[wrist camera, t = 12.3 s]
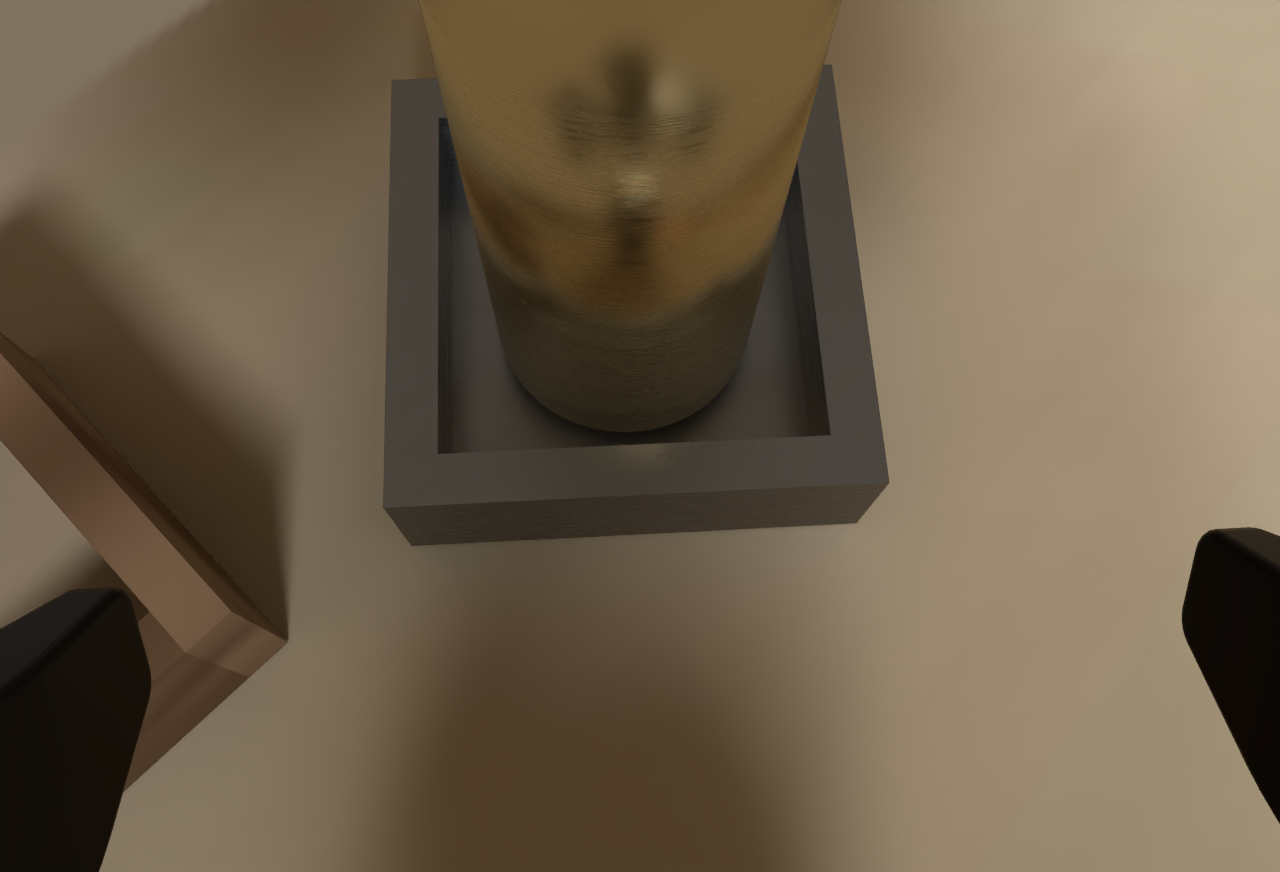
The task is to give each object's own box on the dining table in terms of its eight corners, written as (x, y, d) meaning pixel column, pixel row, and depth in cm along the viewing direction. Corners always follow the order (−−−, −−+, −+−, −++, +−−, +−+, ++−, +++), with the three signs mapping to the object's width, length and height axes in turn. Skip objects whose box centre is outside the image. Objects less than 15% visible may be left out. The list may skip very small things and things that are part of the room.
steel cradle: (808, 145, 27) (831, 65, 24) (856, 523, 24) (889, 483, 21) (416, 159, 26) (392, 79, 23) (411, 545, 23) (383, 507, 20)
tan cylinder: (801, 317, 24) (942, -64, 14) (620, 484, 23) (624, 201, 12) (627, 160, 25) (635, -299, 15) (446, 310, 24) (316, -81, 14)
